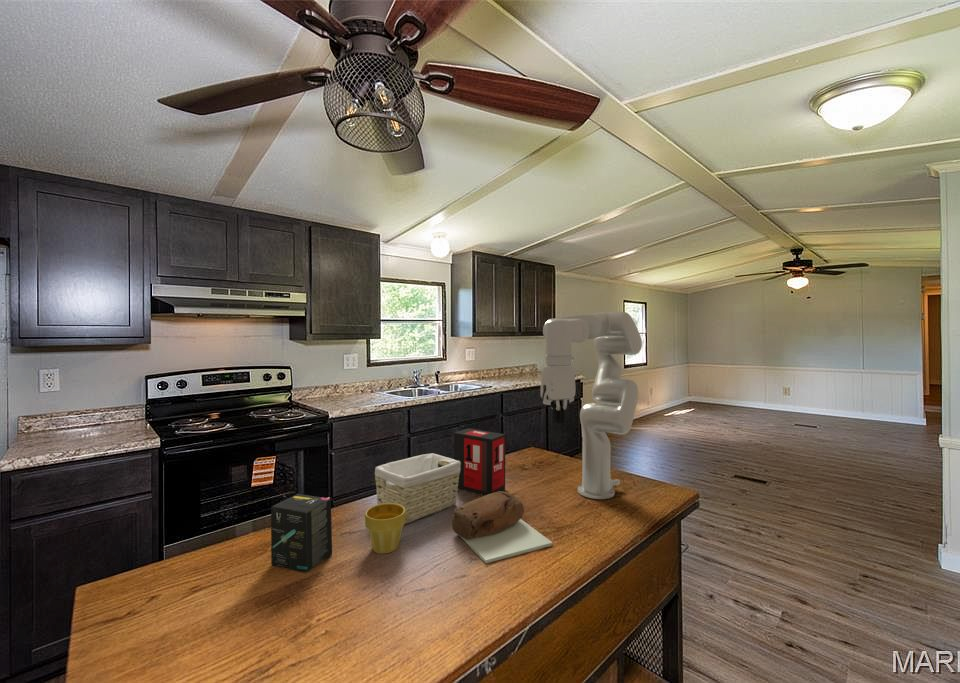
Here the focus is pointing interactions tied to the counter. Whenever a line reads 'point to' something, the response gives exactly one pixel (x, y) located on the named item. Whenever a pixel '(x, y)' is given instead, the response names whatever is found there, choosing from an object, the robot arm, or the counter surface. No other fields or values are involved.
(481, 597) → the counter surface
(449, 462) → the storage basket
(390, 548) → the plant pot
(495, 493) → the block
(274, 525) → the tampon box
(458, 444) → the cleaning product box
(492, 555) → the cutting board
